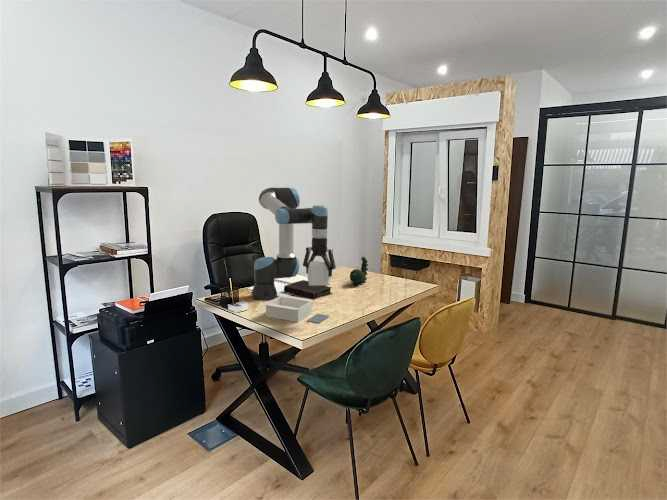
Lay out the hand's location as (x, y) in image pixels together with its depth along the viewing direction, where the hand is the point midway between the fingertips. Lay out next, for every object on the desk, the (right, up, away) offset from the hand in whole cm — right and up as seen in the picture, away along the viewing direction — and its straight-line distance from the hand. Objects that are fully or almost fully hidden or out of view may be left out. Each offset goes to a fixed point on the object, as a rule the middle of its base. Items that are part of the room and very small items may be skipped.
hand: (318, 281), depth 197 cm
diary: (-8, -12, +50) cm, 52 cm away
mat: (0, -19, +3) cm, 19 cm away
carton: (-16, -18, +8) cm, 25 cm away
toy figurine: (+25, -8, +75) cm, 80 cm away
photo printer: (0, -2, 0) cm, 2 cm away
